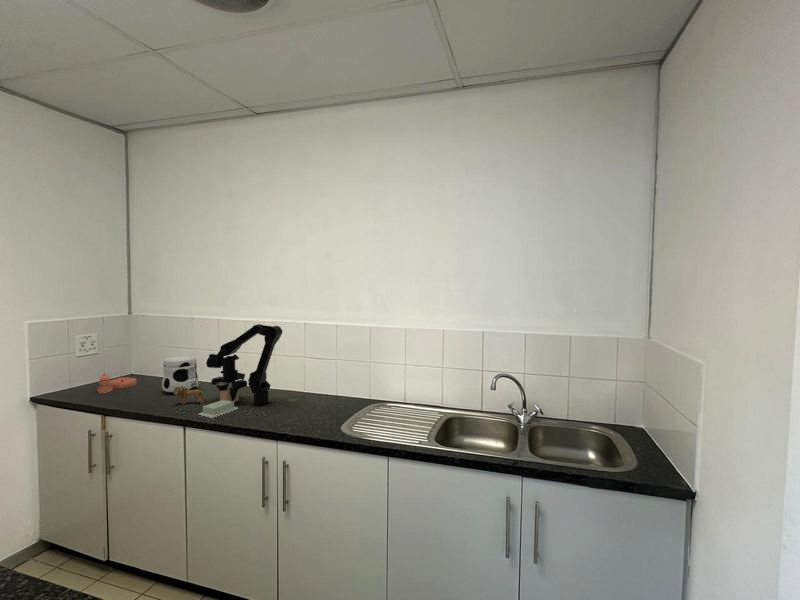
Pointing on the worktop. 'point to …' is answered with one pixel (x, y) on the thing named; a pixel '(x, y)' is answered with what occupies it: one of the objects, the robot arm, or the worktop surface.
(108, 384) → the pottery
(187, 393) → the lion figurine
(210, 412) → the grey scalloped base block
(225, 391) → the terracotta brick
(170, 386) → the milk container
